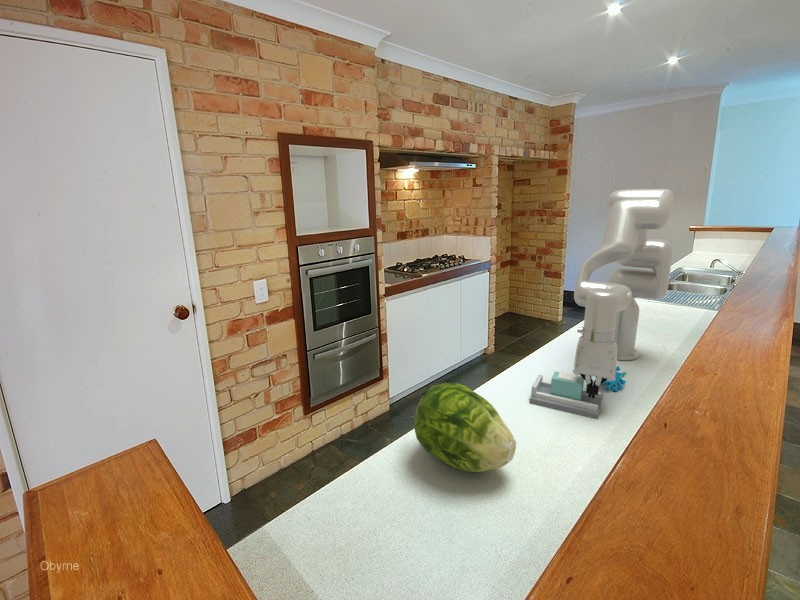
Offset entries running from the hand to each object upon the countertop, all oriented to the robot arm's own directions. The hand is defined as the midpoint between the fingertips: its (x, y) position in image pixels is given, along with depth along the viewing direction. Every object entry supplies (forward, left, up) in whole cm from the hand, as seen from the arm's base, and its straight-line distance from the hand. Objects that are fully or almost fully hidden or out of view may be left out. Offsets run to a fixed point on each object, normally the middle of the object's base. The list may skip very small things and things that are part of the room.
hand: (591, 395), depth 112 cm
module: (0, -7, -2) cm, 7 cm away
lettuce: (+39, -22, -4) cm, 45 cm away
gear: (-16, +4, -4) cm, 17 cm away
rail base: (0, -6, -4) cm, 7 cm away
